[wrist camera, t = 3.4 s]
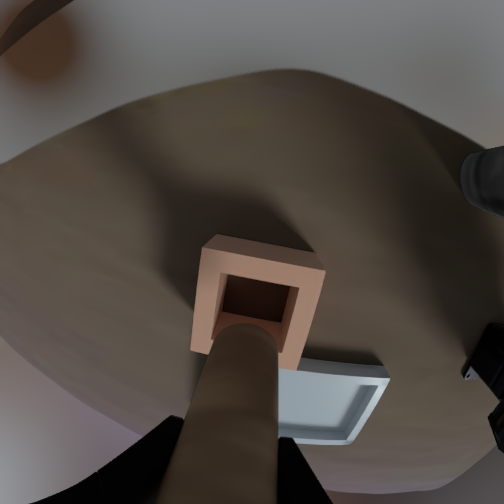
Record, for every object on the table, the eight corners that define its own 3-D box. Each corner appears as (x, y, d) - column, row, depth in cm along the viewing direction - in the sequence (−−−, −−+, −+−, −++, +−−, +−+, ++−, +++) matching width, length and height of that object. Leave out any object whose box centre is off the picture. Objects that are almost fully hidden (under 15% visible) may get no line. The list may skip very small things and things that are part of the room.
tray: (384, 365, 21) (390, 378, 19) (347, 432, 23) (350, 444, 21) (219, 342, 21) (215, 355, 19) (209, 416, 23) (205, 429, 21)
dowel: (285, 329, 12) (290, 575, 2) (270, 381, 13) (258, 584, 3) (216, 316, 12) (123, 546, 2) (209, 369, 13) (144, 563, 3)
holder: (315, 253, 19) (325, 271, 15) (293, 338, 20) (296, 370, 17) (216, 234, 19) (202, 247, 15) (204, 321, 21) (190, 350, 17)
